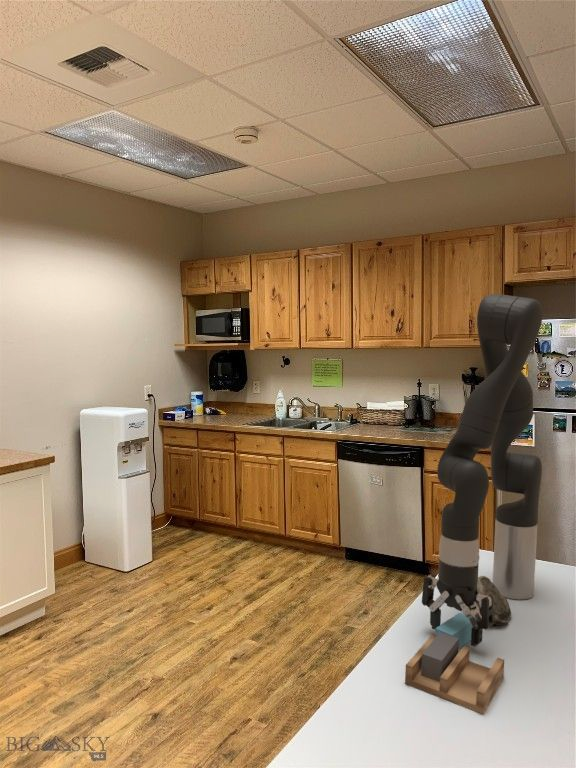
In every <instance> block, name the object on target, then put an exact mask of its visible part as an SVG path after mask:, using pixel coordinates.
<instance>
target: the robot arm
mask: <svg viewBox="0 0 576 768" xmlns="http://www.w3.org/2000/svg"><path fill="white" fill-rule="evenodd" d="M543 317H544V316H543V307H542V304H541V303H540V301H539V300H537V299H534V298H531V297H522V296H517V295H510V294H509V295H507V294H500V293H493V294H492V293H491V294H487V295H485V296H484V297H483V299H482V300H481V301H480V303H479V305H478V309H477V315H476V328H477V335H478V342H479V347H480V350H481V355H482V360H483V366H484V368H483V369H484V374H485V375H484V376H485V379H484V380H483V381H482V382H481V383H479V384H478V386H476V387H475V389H474V390H472V391H471V393H470V394H469V396H468V397H467V399H466V400H465V401H466V402H465V403H464V406H463V410H462V413H461V415H460V419H459V423H458V426H457V428H456V429H457V430H456V431H455V433H454V435H453V436H452V438H451V439H450V441H449V442H448V444H447V446H445V447H446V448H445V449H444V451H443V452H442V454H441V456H440V457H439V458H440V459H439V460H438V463H437V479H438V481H439V483H440V485H442V486H443V487H445V488H446V489H448V490H450V491H453V492H454V497H453V498H454V499H453V502H450V503H447V504H446V505H444V507H443V508H442V512H441V513H442V514H441V527H440V528H441V530H440V531H441V533H440V539H439V545H438V546H439V548H438V566H437V567H438V569H437V571H438V572H437V577H438V578H436V575H434V574H429V575H427V576H426V577H424V578H423V584H422V595H421V604H422V605H423V606H426V607H428V609H429V611H430V614H429V623H430V626H431V629H432V630H434V631H436V628H437V627H438V626H440V625H441V624H442V623H441V622H442V621H441V618H442V609H440V608H441V607H443V605H444V604H446V607H449V608H454V609H455V610H457V611H460V612H463V615H465V616H466V617H467V618H468V619H469V620H470V622H471V624H472V626H473V627H472V631H471V640H470V646H471V647H474V648H475V647H477V646H479V645H480V643H482V641H483V630H488V629H489V628H490V627H492V626H493V625H494V623H493V596H492V595H487V596H485V595H482V594H479V593H478V591H477V583H478V577H479V563H480V562H479V561H480V544H479V543H480V542H479V534H480V516H481V513H482V510H483V509H484V505H485V501H486V499H487V495H488V493H489V487H490V479H489V473H488V471H487V468H486V467H485V466H484V464H482V463H481V462H479V461H477V460H474V458H475V457H476V456H477V453H479V451H481V450H487V449H489V448H490V477H491V481H492V482H491V483H492V485H493V487H494V488H495V490H498V491H501V492H505V493H514V494H519V495H521V494H522V495H523V496H524V497H523V498H521V499H518V500H517V501H512V502H507V503H502V504H500V505H498V506H497V507H496V509H495V520H494V521H495V526H494V543H493V544H494V545H493V546H494V547H493V549H494V550H493V563H492V564H493V565H492V566H493V567H492V569H493V570H492V583H494V585H495V586H496V587H497V588H498V590H499V592H500V593H501V595H503V596H504V597H505V598H506V599H512V600H529V599H531V598H532V597H533V596H534V593H535V592H534V591H535V590H534V589H535V578H536V577H535V576H536V575H535V574H536V559H537V542H538V541H537V540H538V522H539V519H538V518H539V505H540V504H539V503H540V502H539V500H540V493H541V492H540V491H541V485H542V484H541V483H542V476H543V475H542V474H543V467H542V466H543V465H542V461H541V457H539V456H537V455H534V454H525V453H519V452H518V453H516V452H509V451H508V450H509V448H510V446H511V445H512V443H513V442H514V441H515V440H516V439H517V438H518V437H519V436H520V435H521V434H522V433H523V432H524V431H525V430H526V429H527V427H528V426H529V424H530V423H532V422H531V421H532V419H533V416H534V394H533V388H532V385H531V384H530V382H529V380H528V378H527V376H526V375H525V374H524V372H523V368H524V366H525V364H526V362H527V360H528V358H529V355H530V353H531V351H532V349H533V347H534V345H535V343H536V341H537V338H538V335H539V334H540V330H541V326H542V323H543ZM508 345H509V348H508ZM435 588H437V591H438V592H439V594H440V595H439V596H438V597H437V598H436V599H435V600H434V592H435ZM476 600H478V601H479V606H480V607H481V615H482V616H481V615H480V610H479V608H478V606H477V604H476V602H475V601H476ZM469 607H471V609H472V610H471V611H470V609H469Z"/></svg>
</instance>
